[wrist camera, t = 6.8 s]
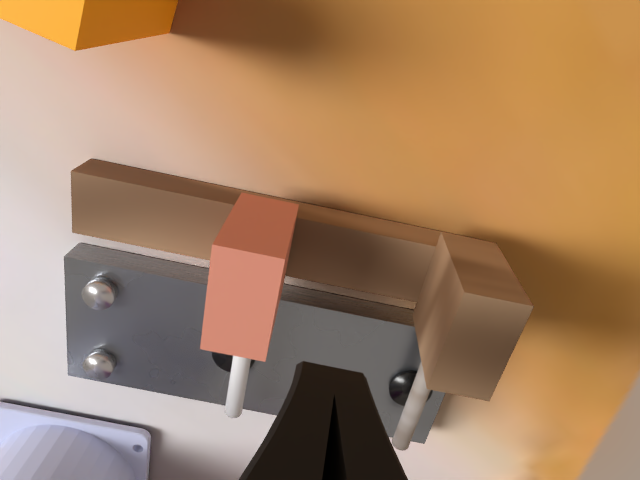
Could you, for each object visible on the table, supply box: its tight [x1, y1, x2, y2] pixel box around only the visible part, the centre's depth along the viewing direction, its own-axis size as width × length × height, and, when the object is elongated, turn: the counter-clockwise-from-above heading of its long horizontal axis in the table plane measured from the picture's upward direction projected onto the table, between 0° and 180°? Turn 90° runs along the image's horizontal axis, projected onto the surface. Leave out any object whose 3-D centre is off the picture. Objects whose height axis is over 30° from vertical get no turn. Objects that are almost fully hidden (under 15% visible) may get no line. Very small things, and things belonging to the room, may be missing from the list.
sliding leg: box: [200, 192, 299, 418], centre depth 17 cm, size 9×2×4 cm, turn 169°
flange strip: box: [64, 243, 445, 444], centre depth 21 cm, size 6×16×2 cm, turn 79°
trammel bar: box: [71, 159, 534, 450], centre depth 18 cm, size 9×15×6 cm, turn 79°
